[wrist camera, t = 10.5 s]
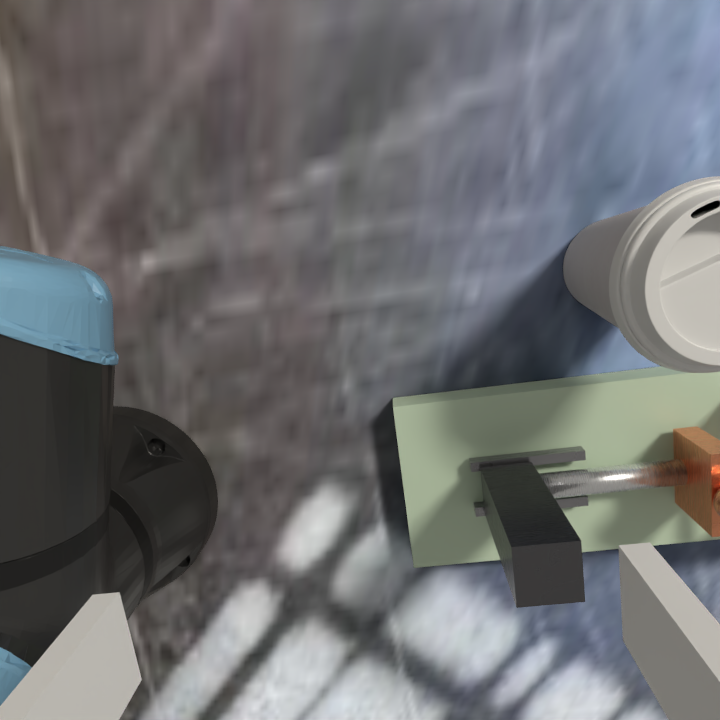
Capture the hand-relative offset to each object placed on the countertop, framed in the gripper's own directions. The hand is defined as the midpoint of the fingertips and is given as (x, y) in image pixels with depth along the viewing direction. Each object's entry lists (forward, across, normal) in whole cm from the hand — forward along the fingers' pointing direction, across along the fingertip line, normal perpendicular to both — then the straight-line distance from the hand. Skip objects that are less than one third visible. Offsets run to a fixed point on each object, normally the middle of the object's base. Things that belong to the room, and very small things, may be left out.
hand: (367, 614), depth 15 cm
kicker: (+26, +14, -9) cm, 30 cm away
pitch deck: (+29, +12, -9) cm, 32 cm away
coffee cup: (+29, +17, +5) cm, 34 cm away
